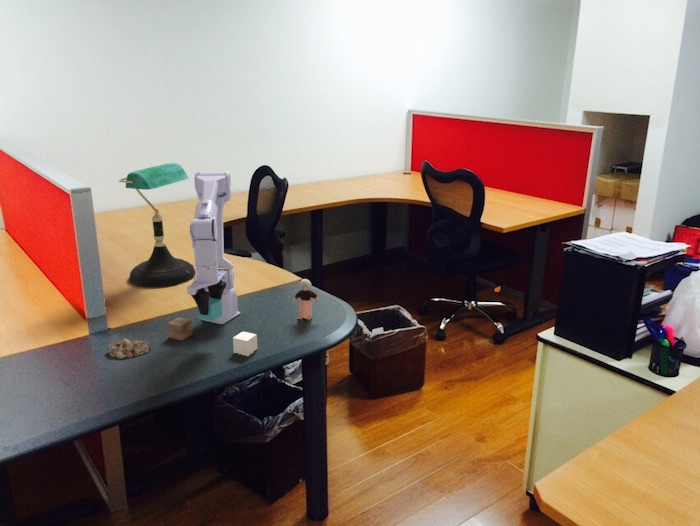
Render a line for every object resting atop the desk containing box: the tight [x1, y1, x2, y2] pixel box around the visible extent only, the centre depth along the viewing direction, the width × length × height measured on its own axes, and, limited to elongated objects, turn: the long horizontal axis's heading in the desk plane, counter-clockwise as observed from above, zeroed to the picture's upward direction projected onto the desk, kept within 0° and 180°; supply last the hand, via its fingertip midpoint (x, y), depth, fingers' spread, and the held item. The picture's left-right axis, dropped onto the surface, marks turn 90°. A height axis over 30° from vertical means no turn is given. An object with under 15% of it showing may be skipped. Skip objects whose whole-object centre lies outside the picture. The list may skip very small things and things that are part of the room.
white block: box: [232, 331, 258, 357], centre depth 156 cm, size 4×4×4 cm
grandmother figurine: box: [292, 278, 320, 321], centre depth 176 cm, size 8×4×13 cm, turn 99°
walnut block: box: [167, 317, 193, 341], centre depth 165 cm, size 4×4×4 cm
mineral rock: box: [108, 338, 151, 360], centre depth 156 cm, size 11×4×8 cm
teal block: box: [197, 298, 222, 322], centre depth 158 cm, size 4×4×4 cm
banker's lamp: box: [118, 162, 196, 288], centre depth 208 cm, size 26×23×40 cm
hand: (210, 311), depth 158 cm, fingers closed on teal block, 4 cm apart
